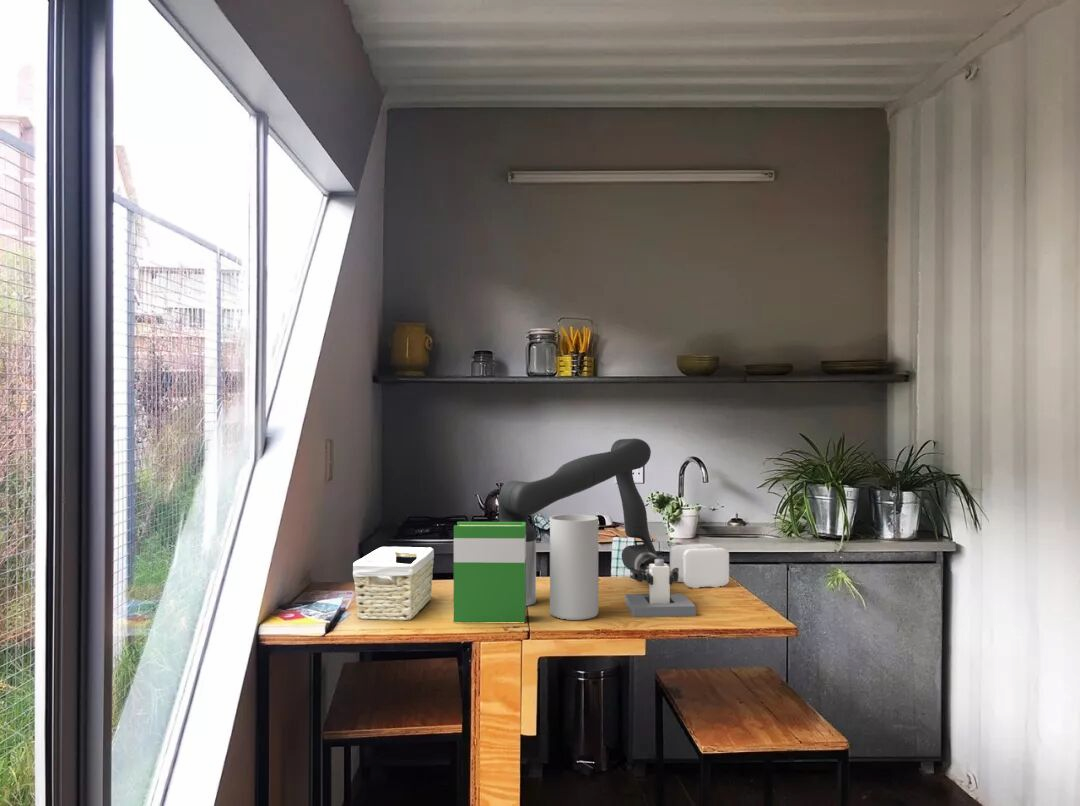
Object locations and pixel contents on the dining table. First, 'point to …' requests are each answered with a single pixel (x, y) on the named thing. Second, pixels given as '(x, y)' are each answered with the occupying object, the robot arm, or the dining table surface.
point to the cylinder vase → (574, 566)
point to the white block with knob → (659, 582)
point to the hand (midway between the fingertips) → (661, 580)
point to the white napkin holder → (700, 565)
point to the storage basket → (393, 583)
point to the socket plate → (659, 606)
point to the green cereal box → (490, 572)
